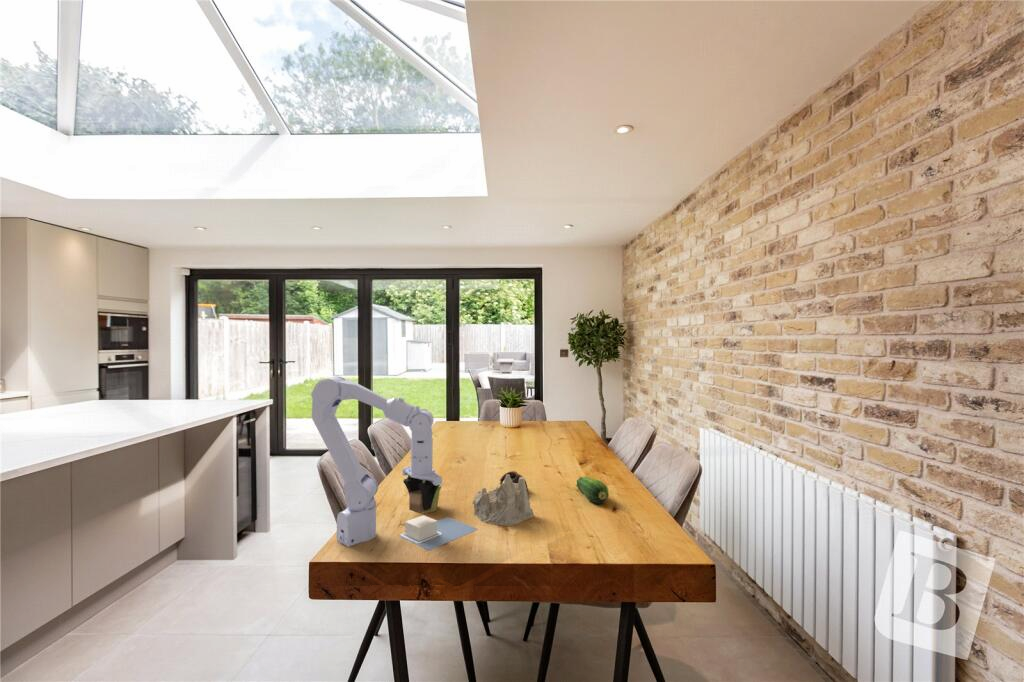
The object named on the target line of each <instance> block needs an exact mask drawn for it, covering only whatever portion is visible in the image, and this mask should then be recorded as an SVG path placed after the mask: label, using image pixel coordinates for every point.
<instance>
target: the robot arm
mask: <svg viewBox="0 0 1024 682" xmlns="http://www.w3.org/2000/svg"><path fill="white" fill-rule="evenodd" d="M310 396H311V399H312V403H311V419H312V421H313V423H314V425H315V427H316V429H317V431H318V433H319V434H320V436H321V439H322V440H323V442H324V444H325V446H326V448H327V450H328V452H329V455H330V457H332V458H331V459H332V460H333V462H334V463H335V464H334V465H336V468H337V469H338V472H339V474H340V475H341V477H342V489H343V491H344V495H345V496H344V500H345V504H346V505H347V507H346V508H345V509H344V510H342V511H340V512H338V514H337V517H336V541H337V542H339V543H341V544H343V545H344V546H346V547H351V546H353V545H357V544H360V543H363V542H368V541H371V540H373V539H374V538H375V537H376V535H377V501H376V499H375V496H376V495H377V492H378V490H379V484H378V482H377V480H376V479H375V478H374V477H373V476H371V474H370V473H369V472H368V470H367V469H366V468H364V467H363V466H362V465H361V463H360V462H359V459H358V458H357V456H356V454H355V451H354V449H353V448H352V446H351V444H350V441H349V440H348V438H347V436H346V434H345V432H344V431H343V428H342V426H341V425H340V423H339V421H338V418H337V417H336V414H337V410H338V408H339V405H340V404H341V402H342V401H345V400H357V401H359V402H361V403H363V404H367V405H369V406H371V407H374V408H376V409H378V410H381V411H382V412H383V415H384V417H385V418H387V419H389V420H391V421H393V422H396V423H397V424H399V425H402V426H404V427H409V430H410V431H411V439H410V466H406V467H403V468H402V476H407V478H404V479H403V484H404V486H405V487H406V489H407V492H408V494H409V493H410V492H413V491H417V490H421V494H422V503H423V509H424V510H428V509H431V506H432V502H433V498H434V495H435V493H436V491H437V489H438V487H439V485H440V484H442V485H443V476H442V475H439V474H437V473H436V469H434V468H433V444H434V443H433V440H434V439H433V428H432V427H433V424H434V416H433V414H432V413H431V412H430V411H429V410H428V409H426V408H421V406H418V405H416V406H415V405H413V404H410V403H408V402H406V401H405V398H403V397H402V396H400V397H399V398H398V397H392V398H390V399H388V398H386V397H384V396H383V395H381V394H379V393H377V392H375V391H372V390H371V389H369V388H367V387H365V386H364V385H361V384H359V383H357V382H355V381H353V380H349V379H346V378H344V377H342V376H333V377H330V378H322V379H321V380H319V381H318V382H317V383H315V385H314V388H313V389H312V391H311V394H310ZM423 480H424V481H425V483H423Z"/></svg>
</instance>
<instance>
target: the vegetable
mask: <svg viewBox="0 0 1024 682" xmlns="http://www.w3.org/2000/svg"><path fill="white" fill-rule="evenodd" d="M575 486H576V487H577V488H578V490H579V491H582V492H581V493H583V495H584V496H585V498H586V499H588V500H589V501H590V502H592V503H594V504H604V502H606V501H607V500H608V498H609V495H610V492H609V488H608V486H607V485H606V484H605V483H604V482H602V481H601V480H599V479H595V478H592V477H588V476H579V478H578V479H577V480H576V485H575Z"/></svg>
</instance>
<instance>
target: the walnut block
mask: <svg viewBox="0 0 1024 682" xmlns="http://www.w3.org/2000/svg"><path fill="white" fill-rule="evenodd" d="M408 495H409V496H408V497H409V498H408V499H409V502H408V504H409V505H408V507H409V508H408V509H409V511H412V512H415V513H417V514H419V515H420V514H423V513H427V512H426V511H429V510H432V509H433V502H432V506H431V509H428V510H424V509H423V503H422V494H421V490H417V491H413V492H410V493H409V492H408Z"/></svg>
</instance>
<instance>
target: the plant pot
mask: <svg viewBox="0 0 1024 682" xmlns="http://www.w3.org/2000/svg"><path fill="white" fill-rule="evenodd" d="M423 483H425V481H424V480H423ZM442 486H443V483H442V484H440V485H439V487H438V489H437V491H436V493H435V495H434V498H433V509H432V510H429V511H426V512H425V513H432V512H434V511H437V510H438V504H439V498H440V492H441V489H442Z"/></svg>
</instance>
